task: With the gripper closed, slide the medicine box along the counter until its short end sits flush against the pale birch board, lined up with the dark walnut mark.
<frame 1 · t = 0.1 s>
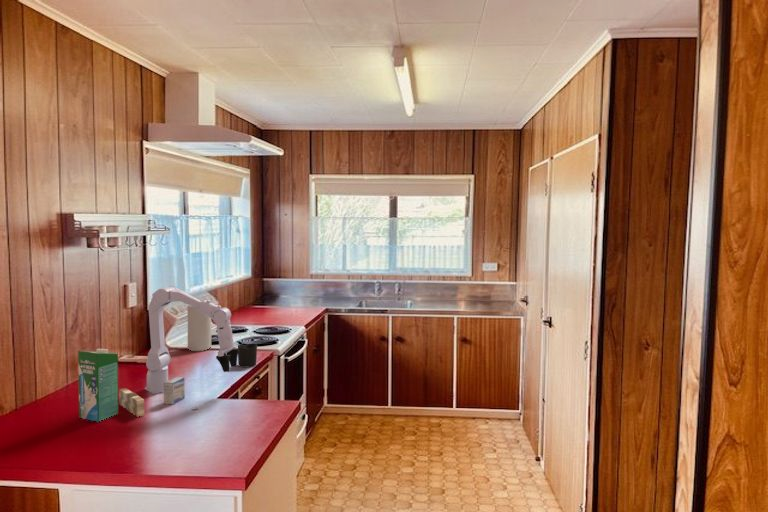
hand: (230, 369, 218), 10 cm above the table, tool pointing down, fingers open, 7 cm apart
pen holder: (247, 365, 262), on the table
medicine box: (174, 401, 208), on the table
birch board: (131, 409, 197), on the table
cylinder vase: (199, 349, 293), on the table
milk carton: (99, 417, 190), on the table
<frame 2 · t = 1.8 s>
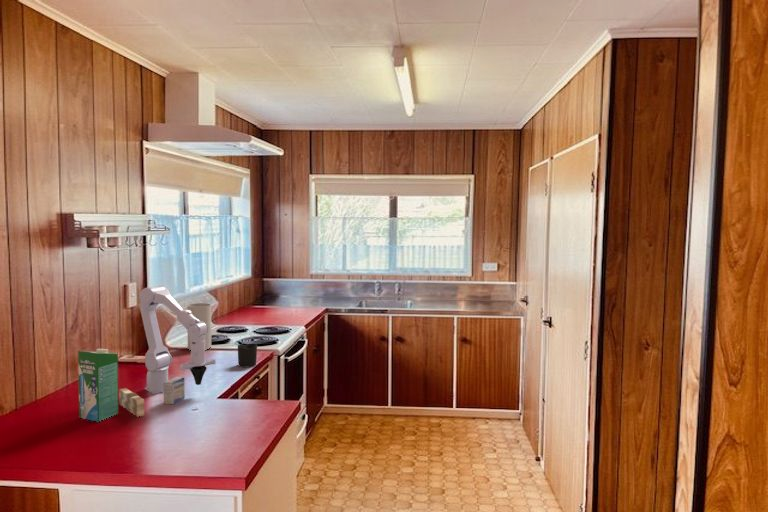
hand: (198, 384, 215), 5 cm above the table, tool pointing down, fingers closed
nothing on the table moved.
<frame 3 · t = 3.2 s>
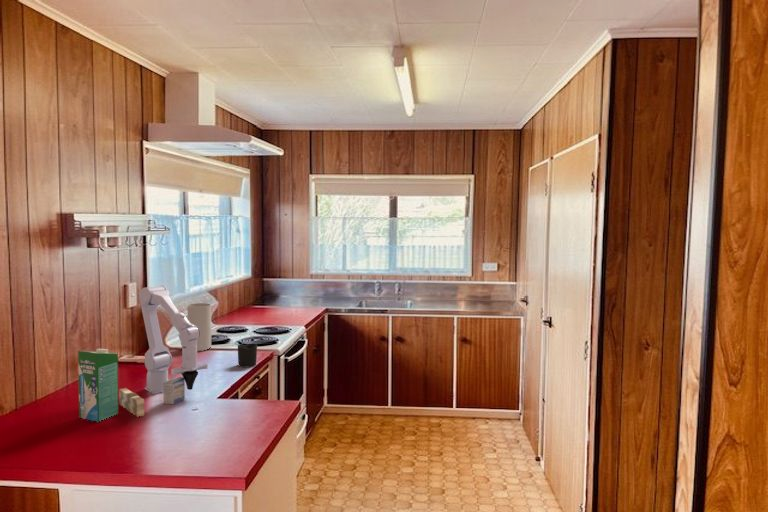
hand: (189, 389, 213), 3 cm above the table, tool pointing down, fingers closed
medicine box: (174, 401, 208), on the table, touching gripper
everything else where it was.
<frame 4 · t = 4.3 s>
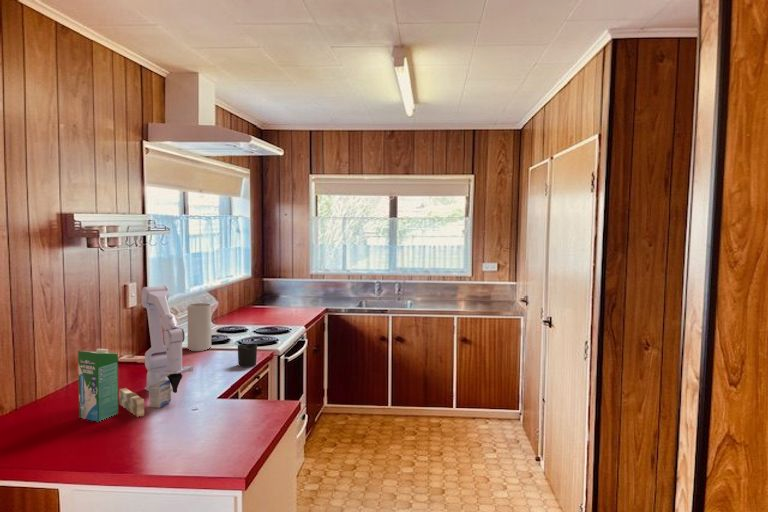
hand: (174, 392, 208), 3 cm above the table, tool pointing down, fingers closed
medicine box: (160, 404, 204), on the table, touching gripper
everything else where it was.
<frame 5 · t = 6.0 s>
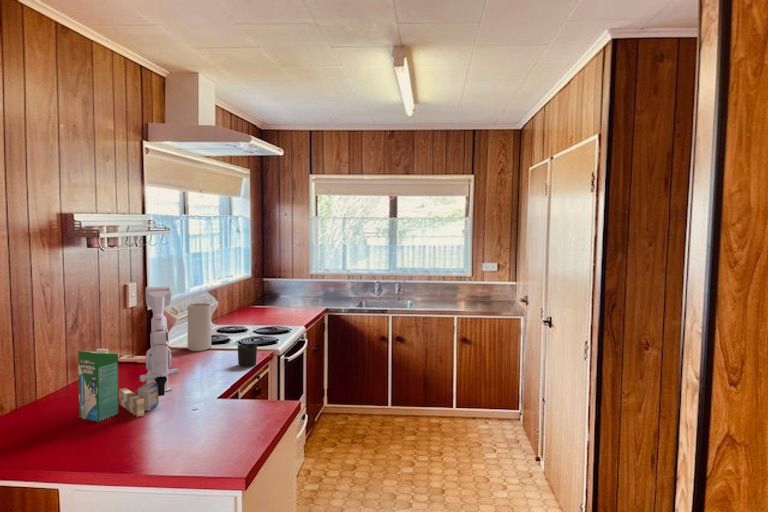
hand: (160, 395, 204), 3 cm above the table, tool pointing down, fingers closed, pressing on medicine box
medicine box: (148, 408, 200), on the table, touching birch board, gripper
everything else where it was.
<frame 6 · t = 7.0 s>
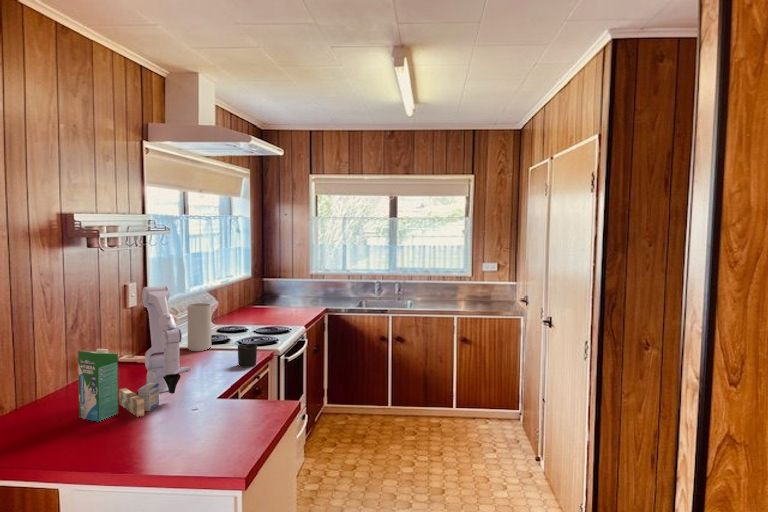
hand: (171, 392, 207), 3 cm above the table, tool pointing down, fingers closed
medicine box: (148, 408, 200), on the table
everything else where it was.
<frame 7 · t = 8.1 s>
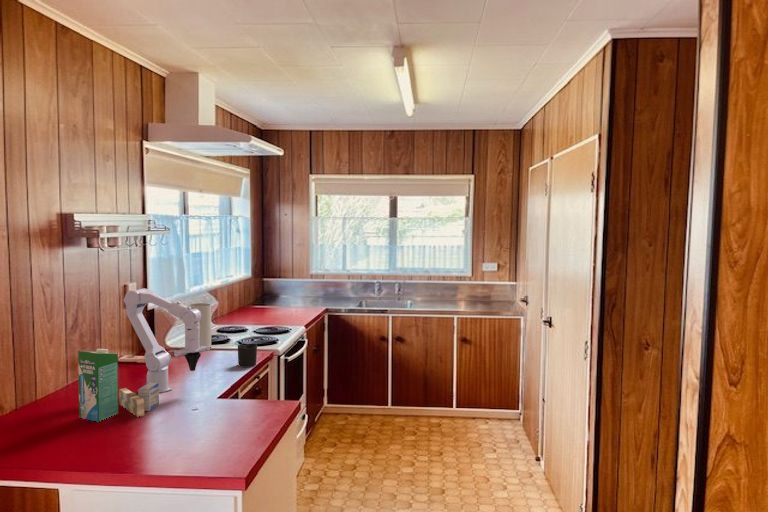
hand: (192, 370, 218), 9 cm above the table, tool pointing down, fingers closed
nothing on the table moved.
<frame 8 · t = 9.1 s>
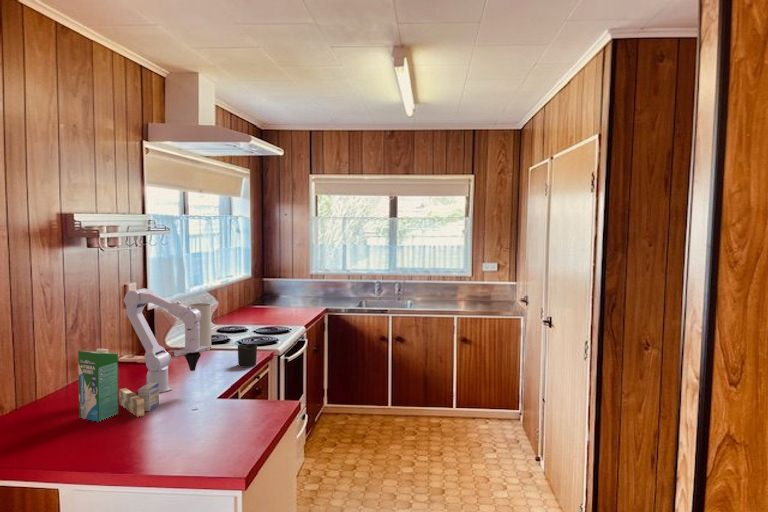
hand: (192, 370, 218), 9 cm above the table, tool pointing down, fingers closed
nothing on the table moved.
at the end: medicine box 1.1 cm from the target spot on the table beside the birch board, on the table; medicine box tilted 0° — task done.
